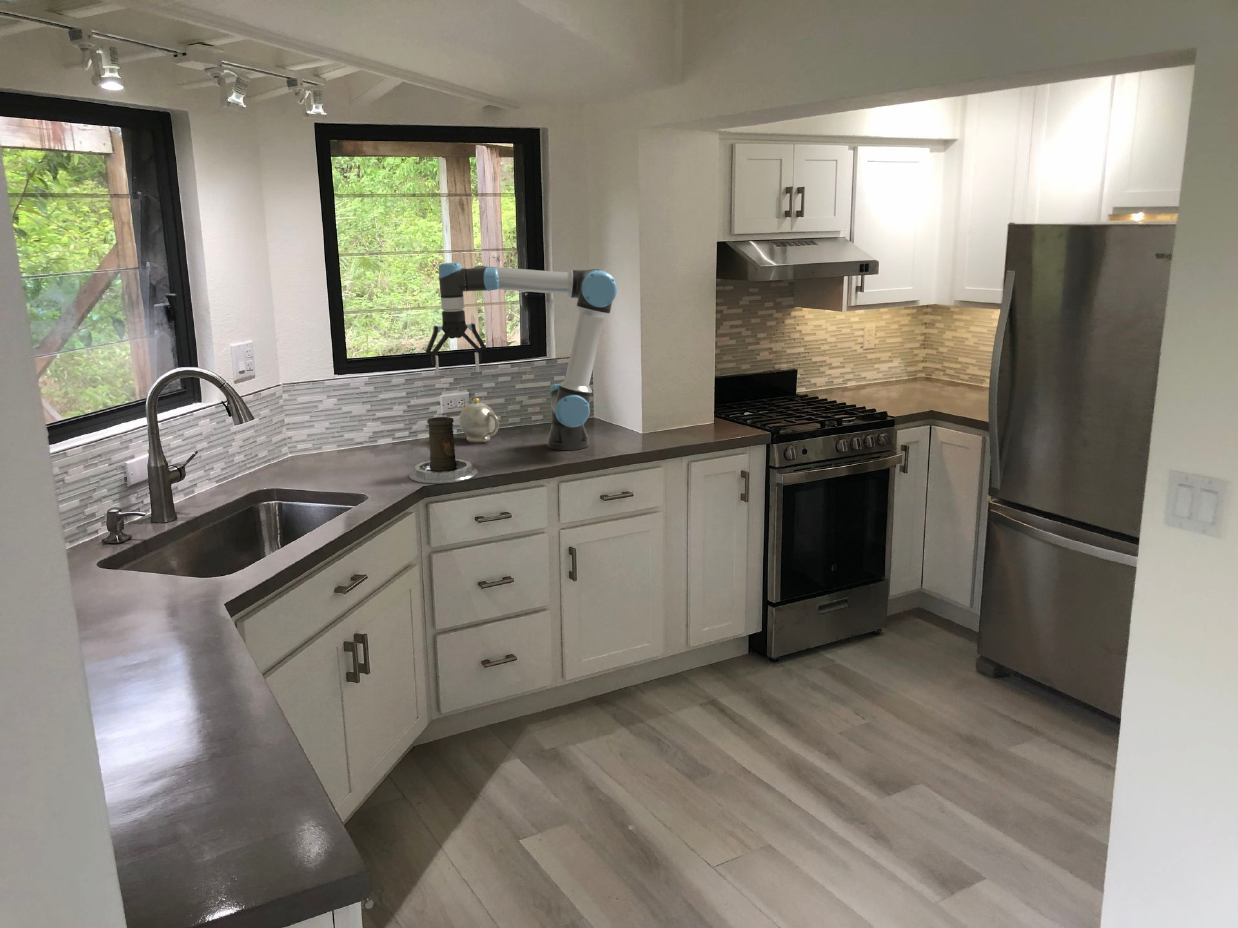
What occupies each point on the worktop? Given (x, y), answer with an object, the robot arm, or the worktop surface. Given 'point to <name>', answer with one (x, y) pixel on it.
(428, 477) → the flange
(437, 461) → the container
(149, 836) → the worktop surface
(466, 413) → the teapot
